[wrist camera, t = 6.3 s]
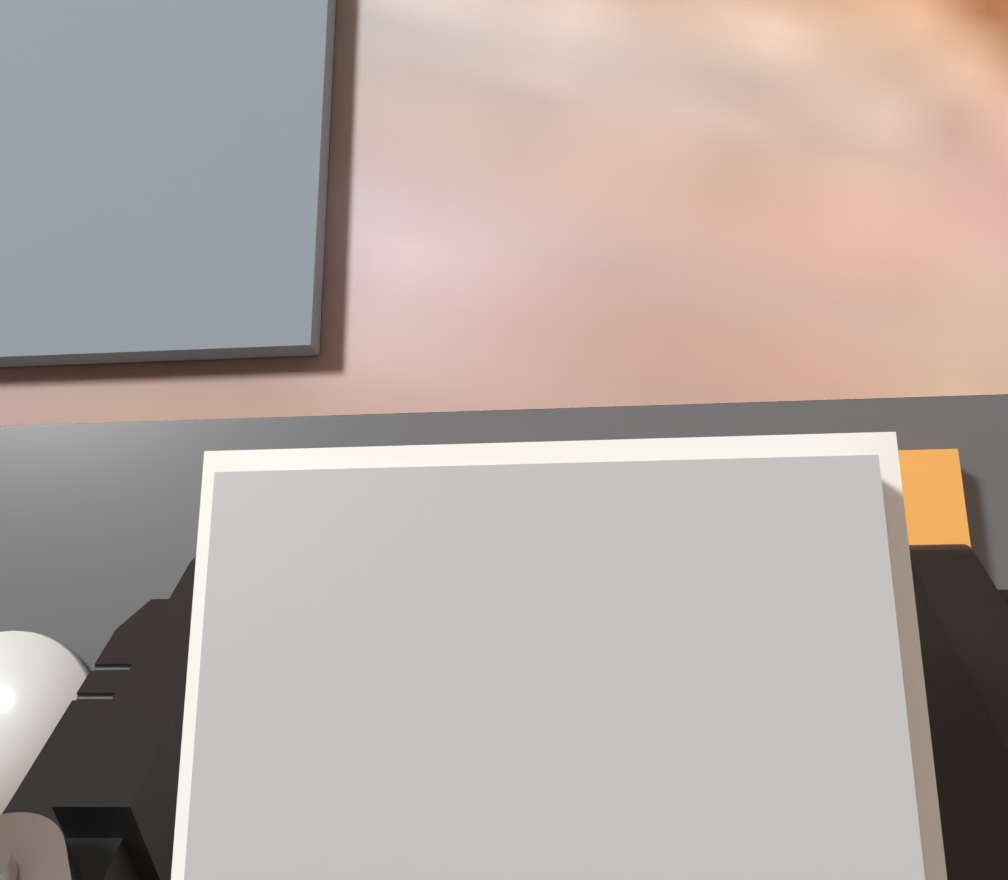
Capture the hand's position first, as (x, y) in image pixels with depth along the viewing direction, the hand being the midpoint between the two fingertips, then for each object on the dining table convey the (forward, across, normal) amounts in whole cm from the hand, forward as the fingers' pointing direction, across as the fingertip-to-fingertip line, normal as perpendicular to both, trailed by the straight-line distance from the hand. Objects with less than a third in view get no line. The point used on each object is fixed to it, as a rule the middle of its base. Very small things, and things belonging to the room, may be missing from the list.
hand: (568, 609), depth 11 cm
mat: (+12, +11, -4) cm, 17 cm away
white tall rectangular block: (+3, 0, +5) cm, 6 cm away
